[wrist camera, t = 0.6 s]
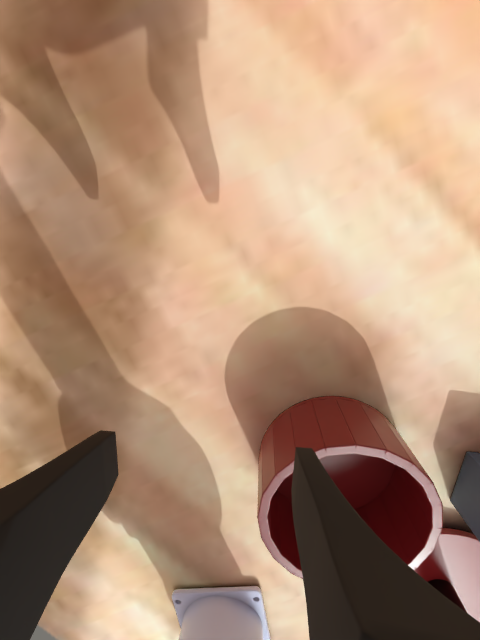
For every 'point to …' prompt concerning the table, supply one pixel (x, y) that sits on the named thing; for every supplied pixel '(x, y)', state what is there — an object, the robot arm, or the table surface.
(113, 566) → the table surface
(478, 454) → the block
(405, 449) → the tin
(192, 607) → the robot arm
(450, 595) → the tin lid
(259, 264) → the table surface
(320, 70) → the table surface
